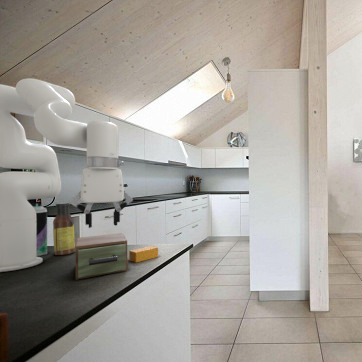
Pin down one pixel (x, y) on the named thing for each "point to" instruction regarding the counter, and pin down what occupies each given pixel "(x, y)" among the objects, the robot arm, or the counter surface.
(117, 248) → the drawer
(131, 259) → the orange block
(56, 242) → the sauce bottle
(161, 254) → the counter surface
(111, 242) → the cabinet
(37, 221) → the spray can
